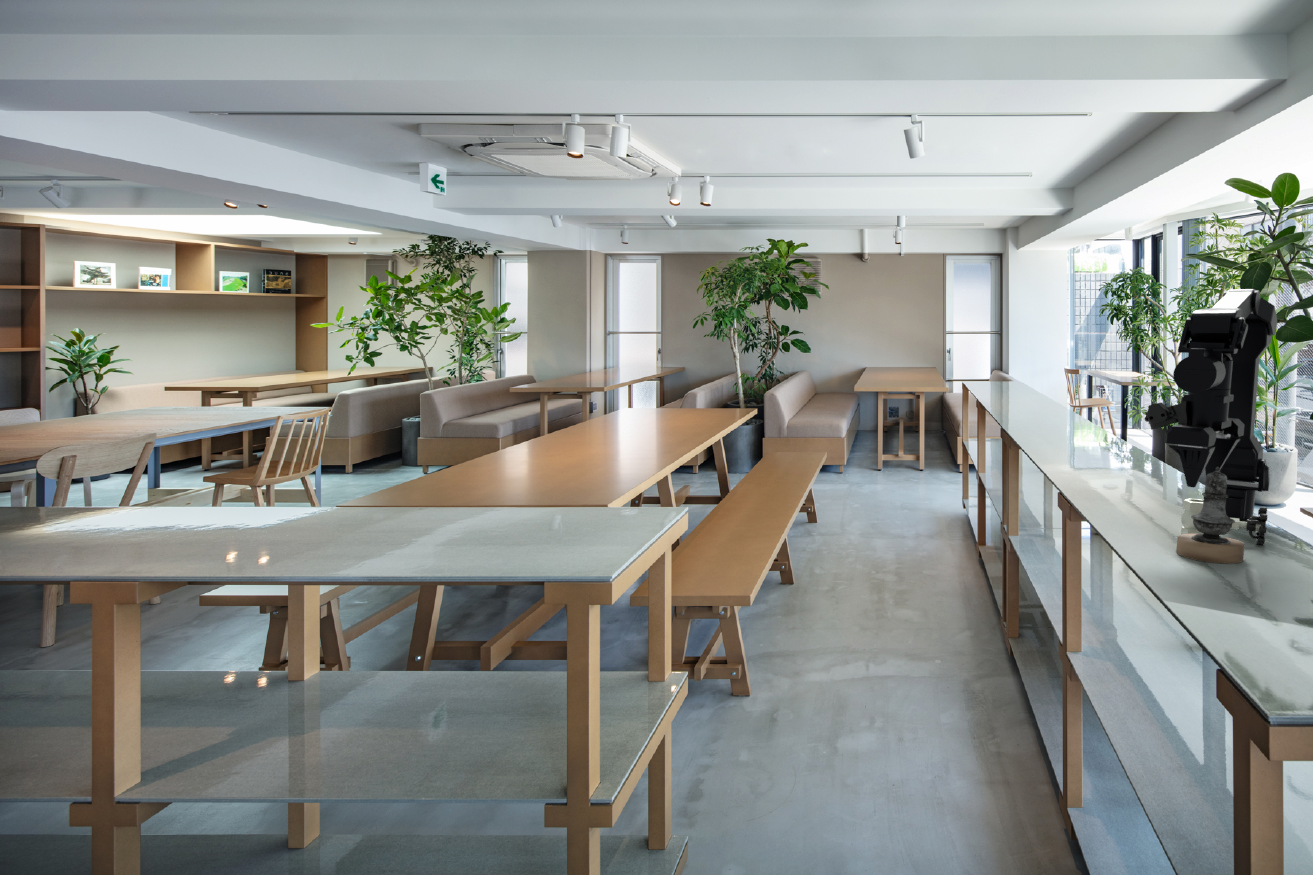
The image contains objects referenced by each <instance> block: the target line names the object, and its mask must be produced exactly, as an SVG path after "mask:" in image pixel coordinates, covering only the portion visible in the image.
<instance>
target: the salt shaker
mask: <svg viewBox="0 0 1313 875" xmlns="http://www.w3.org/2000/svg"><path fill="white" fill-rule="evenodd" d="M1219 470H1220V469H1219V467H1216V471H1214V472H1212V473H1209V474H1208V475H1207V476H1206V475H1205V485H1204V486H1205V487H1204V492H1202V493H1201V496H1203V499H1202V500H1203V507H1202V510H1201V512H1200V513H1198V514H1196V515H1192V516H1191V518H1192V519H1193V524H1194V527H1195V528H1196V529H1197V530H1198V531H1199V532H1201V533H1204V534H1196V535H1194V536H1192V537H1191V538H1192V539H1193V540H1195V541H1198V542H1203V543H1209V544H1220V545H1224V544H1230V543H1231V541H1229V540H1228V539H1227V538H1228V537H1227V538H1225V535H1227V534H1228V533H1229V532H1230V531H1231V530H1232V529H1231V528H1232V523H1235V520H1233V519H1231V518H1229V517H1228V516H1227V515H1226V511H1225V503H1226V498H1228V495H1226V487H1227V481H1228V480H1227V476H1226V475H1224V474H1223V473H1221V472H1219ZM1222 535H1223V536H1222Z"/></svg>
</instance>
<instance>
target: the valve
mask: <svg viewBox="0 0 1313 875" xmlns="http://www.w3.org/2000/svg"><path fill="white" fill-rule="evenodd" d="M1203 500H1204V499H1199V498H1186V499H1184V500H1183V507H1182V508H1183V512H1182V514H1181V517H1180V520H1181V521H1180V522H1181V524H1182V526H1181V529H1180V535H1181V534H1204V533H1201V532H1199V531H1198V530H1197V529H1196V528H1195V527H1194V524H1193V519H1192V518H1191V516H1192V515H1196V514H1198V513H1200V512H1201V510H1202V507H1203ZM1257 515H1258V516H1257ZM1257 515H1254V517H1251V518H1250V519H1247V522H1242V521H1240V519H1238V518H1231V519H1233V520H1235V523H1232V528H1231V529H1230V530H1239V529H1240V528H1245V531H1246V532H1248V535H1249V537H1250V538H1252V539H1253V540H1256V541H1255V545H1256V546H1261V547H1262V546H1263V547H1264V545H1265V544H1266V537H1265V536H1266V533H1267V526H1266V525H1267V522H1268V508H1267V507H1265V506H1259V509H1258V511H1257ZM1254 533H1255V534H1254Z"/></svg>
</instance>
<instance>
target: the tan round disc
mask: <svg viewBox="0 0 1313 875" xmlns="http://www.w3.org/2000/svg"><path fill="white" fill-rule="evenodd" d="M1194 535H1196V534H1181V533H1180V534H1179V535H1177V536H1176V537H1177V539H1176V550H1175V552H1176V554H1177V555H1179V556H1181V557H1183V558H1187V559H1190V560H1195V561H1199V562H1205V563H1206V562H1207V563H1212V564H1214V563H1215V564H1228V565H1229V564H1230V565H1231V564H1238V563H1242V562H1243V561H1244V556H1245V554H1244V553H1245V543H1244V542H1242V541H1241V540H1237V539H1234V538H1230V537H1227V536H1226V537H1225V536H1224V537H1225V538H1227V539H1228V540H1229V541H1231V543H1230V544H1224V545H1220V544H1209V543H1203V542H1198V541H1195V540H1193V539H1192V538H1191V537H1192V536H1194Z"/></svg>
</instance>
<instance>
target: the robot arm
mask: <svg viewBox="0 0 1313 875" xmlns="http://www.w3.org/2000/svg"><path fill="white" fill-rule="evenodd" d="M1277 327H1278V316H1277V310H1276V307H1275V305H1274V304H1272V303H1271V302H1269V301H1267V300H1266V299H1265V298H1262V297H1261V293H1260V290H1259V289H1258V290H1256V289H1255V288H1245V289H1244V288H1242V289H1240V288H1239V289H1238V288H1237V289H1228V290H1226V291H1224V292H1223V293H1222V297H1221V298H1220V300H1218V301H1217V302H1216V303H1215V304H1214V305H1213V306H1212V307H1211V308H1200V309H1199V308H1198V309H1196V310H1193V311H1192V312H1191V314H1190V316H1189V317H1187V318H1186V319H1185V322H1184V324H1183V329H1182V332H1181V336H1180V340H1179V343H1178V346H1177V347H1178V348H1177V353H1179V354H1181V353H1182V354H1183V353H1184V354H1187V353H1188V354H1187V355H1188V356H1187V357H1185V358H1183V359H1182V360H1180V361H1178V363H1177V364H1176V366H1175V368H1174V369H1173V373H1172V374H1173V380H1174V383H1175V384H1176V385H1177V387H1178V388H1179V389H1180V390H1182V391H1184V392H1186V393H1185V394H1183V395H1182V396H1181V398H1180V403H1176V404H1174V405H1173V404H1172V405H1169V406H1166V405H1165V404H1164V403H1163V402H1157V403H1154V404H1153V403H1152V404H1149V405H1148V408H1147V411H1146V412H1144V413H1145V417H1144V421H1145V422H1146V423H1147V422H1148V423H1149V427H1150V429H1151V430H1152V431H1154V430H1156V429H1161V428H1164V427H1168V426H1170V425H1172V424H1175V425H1172V426H1170V427H1168V428H1167V429H1166V430H1165V431H1164V437H1163V438H1164V440H1163V443H1164V444H1167V447H1168V448H1169V449H1172V450H1173V451H1174V452H1175V453H1176V454H1178V456H1179V459H1180V463H1181V466H1182V470H1183V475H1184V478H1185V483H1186V486H1187V487H1188V488H1196V486H1197V485H1198V483H1199V481H1200V480H1201V478H1202V475H1203V473H1204V472H1205V477H1206V476H1207V475H1208V474H1209V473H1212V472H1214V471H1216V467H1219V469H1220V470H1219V472H1221V473H1223V474H1224V475H1226V476H1227V487H1226V495H1228V498H1226V503H1225V511H1226V515H1227V516H1228V517H1229V518H1238V519H1240V521H1242V522H1247V519H1250V518H1251V517H1254V516H1255V514H1254V511H1255V502H1256V501H1255V499H1256V492H1262V493H1263V492H1269V491H1270V490H1269V489H1270V483H1271V482H1270V467H1269V466H1268V465H1267V460H1266V459H1264V447H1263V446H1262V445H1261V443H1260V441H1259V440H1258V438H1257V437H1256V435H1255V426H1256V424H1255V423H1256V422H1255V421H1256V409H1257V399H1258V398H1257V397H1258V381H1259V367H1260V359H1261V356H1262V355H1263V353H1264V352H1265V351H1266V350H1267V348H1268V347H1269V346H1270V345H1271V344H1272V340H1273V338H1272V337H1273V336H1275V335H1276V332H1277V329H1278V328H1277ZM1257 483H1258V484H1257Z"/></svg>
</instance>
